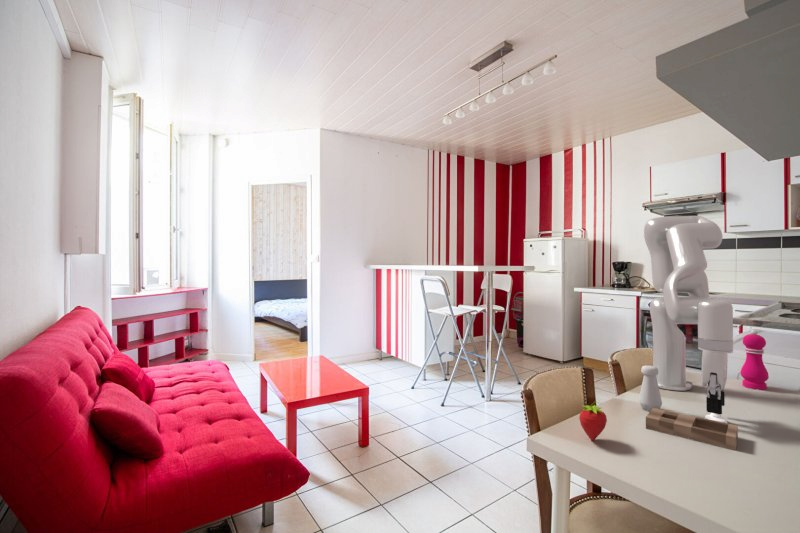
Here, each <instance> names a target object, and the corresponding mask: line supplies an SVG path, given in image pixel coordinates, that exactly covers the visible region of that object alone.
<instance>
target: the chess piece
mask: <svg viewBox="0 0 800 533" xmlns="http://www.w3.org/2000/svg"><path fill="white" fill-rule="evenodd" d="M716 387H717V386H716ZM716 391H717V390H716ZM717 392H718V391H717ZM704 419H709V420H714V421H718V422H723V423H728V419H726V418H725V417H723V416H722V414H715V413H710V414H706V415H704Z"/></svg>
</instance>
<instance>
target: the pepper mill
mask: <svg viewBox="0 0 800 533" xmlns="http://www.w3.org/2000/svg"><path fill="white" fill-rule="evenodd" d="M742 344H743V345H744V346H745V347H744V352H745V355H746V357H745V361H744V363H743V365H742V367H741V369H740V376H741V377H742V378H743V380H741V382H742V387H744V388H746V389H750V388H752V389H751V390H756V389H760V390H759V391H765V389H766V390H767V389H768V388H767V387H768V384H767V383H766V382H767V381H768V380H769V372H768V370H767V368H766V366H765V365H764V360H763V355H764V354H765V352H764V351H765V349H764V348H765V347H766V345H767V341H766V339H765V338H764V337H763V336H761V335H759V334H758V331H757V330H756V329H752V330H750V334H746V335H744V337H742Z"/></svg>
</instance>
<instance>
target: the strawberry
mask: <svg viewBox="0 0 800 533" xmlns="http://www.w3.org/2000/svg"><path fill="white" fill-rule="evenodd" d="M595 403H596V401H593V404H594V405H589V404H588V405H582V407H583V408H582V409H581V411H580V413H579V417H578V419H579V422H580V426H581V428H582V430H583V431H584V433H585V435H587V437H588V438H589V439H590V440H591V441H596V439H597V438H598V436H600V434H602V432H603V431H604V430H605V428H606V426H607V422H608V420H607V415H606V413H605V412H604V411H603V410H601V409H602V407H599V406H596V404H595Z"/></svg>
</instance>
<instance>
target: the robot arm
mask: <svg viewBox="0 0 800 533" xmlns="http://www.w3.org/2000/svg"><path fill="white" fill-rule="evenodd" d="M643 227H644V229H643V237H644V242H645V245H646V246H647V249H648V251H649V255H650V261H651V262H650V263H651V275H652V277H651V278H652V285H653V288H654V290H655V291H657V292H658V293H662V296H659V297H656V298H653V299H652V300H651V301H650V302H649V313H650V318H651V325H652V357H653V358H652V363H653V364H652V366H654V367H656V368H657V369H658V371H659V372H658V375H656V378H657V382H658V387H659V389H664V390H669V391H680V392H683V391H690V390H691V389H692V384H691V383H690V382H687V381H686V380H687V377H686V376H687V375H686V374H687V373H686V370H687V369H686V368H687V366H686V364H687V363H686V361H687V360H686V359H687V358H686V357H687V354H686V336H685V334H684V332H683V331H682V330H681V329H680V328H679V326H678V325H697V349H698V350H700V351H702V353H701V354H702V355H701V380H700V386H702V387H703V388H705V387H706V386H707V390H706V391H707V392H706V397H705V398H706V403H705V404H706V406H705V407H706V412H707V413H710V414H711V413H715V414H720V415H722V414H723V407H724V406H725V405H726V404H725V402H726V401H725V390H724V389H725V386H726V384H727V379H728V378H727V377H728V354H732V353H734V308H733V305H732V303H731V302H729V301H726V300H721V299H720V298H716V297H710V290H709V289H710V288H709V280H708V276H707V274H706V272H705V270H706V269H707V268H708V261H707V259H706V255H705V253H704V250H708V249H716V248H718V247H720V245H721V244H722V242H723V233H722V229H721V228H720V226H719V225H718V224H717V223H715V222H714V221H712V220H710V219H708V218H707V217H704V216H701V215H682V216H681V215H679V216H676V215H675V216H674V215H673V216H660V217H654V218H651V219H649V220H647V221H646V223H645V225H644V226H643ZM678 294H688V296H679V295H678ZM716 386H717V387H716ZM716 390H717V391H718V392H717V391H716Z"/></svg>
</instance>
